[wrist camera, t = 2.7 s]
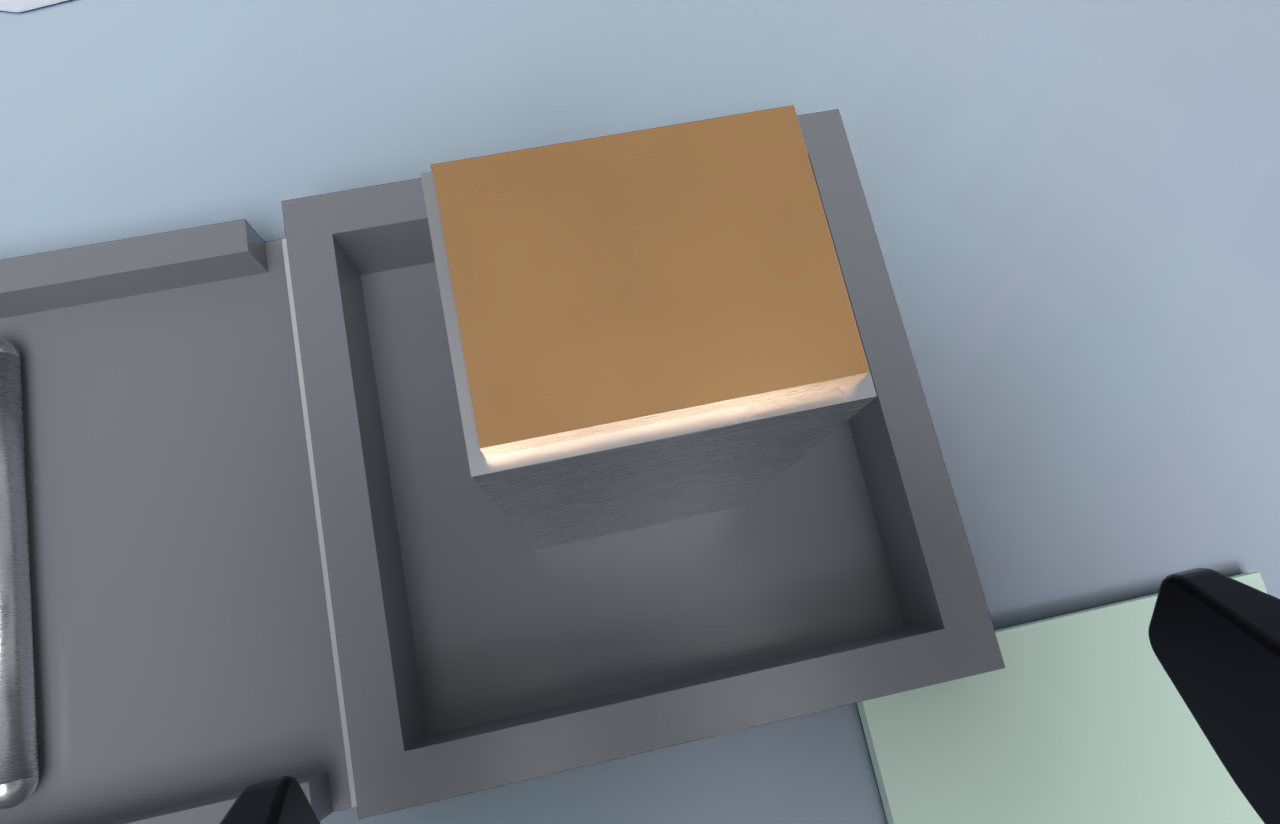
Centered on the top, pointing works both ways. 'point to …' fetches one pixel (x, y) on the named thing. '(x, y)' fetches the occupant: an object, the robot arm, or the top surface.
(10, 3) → the white cup
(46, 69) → the top surface
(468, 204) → the block
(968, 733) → the mat
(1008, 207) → the top surface
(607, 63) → the top surface
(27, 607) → the rod
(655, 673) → the grey compartment tray
